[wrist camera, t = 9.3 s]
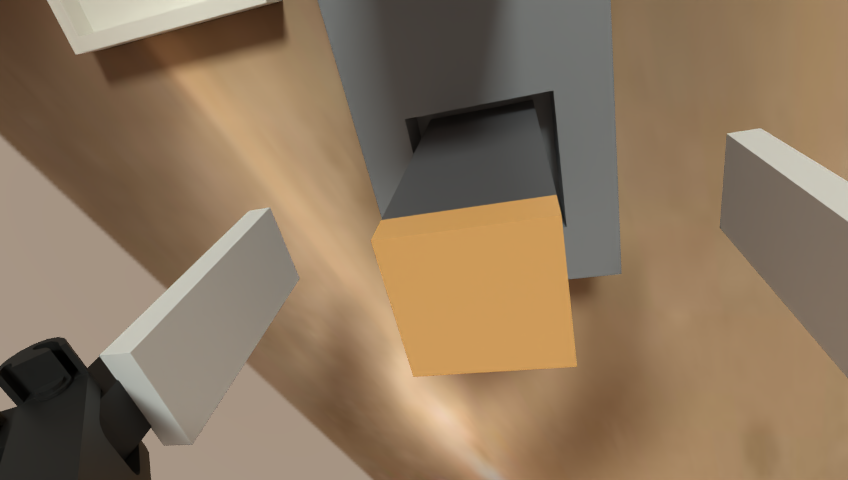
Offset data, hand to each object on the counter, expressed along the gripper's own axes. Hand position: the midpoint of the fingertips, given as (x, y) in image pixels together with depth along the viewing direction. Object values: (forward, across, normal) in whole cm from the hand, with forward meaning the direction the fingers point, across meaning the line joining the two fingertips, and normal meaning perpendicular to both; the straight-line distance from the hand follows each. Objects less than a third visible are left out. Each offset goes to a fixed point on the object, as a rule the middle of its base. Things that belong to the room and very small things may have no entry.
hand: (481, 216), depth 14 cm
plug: (+6, 0, 0) cm, 6 cm away
